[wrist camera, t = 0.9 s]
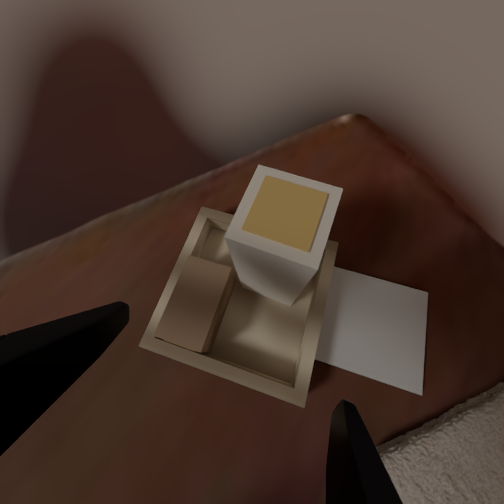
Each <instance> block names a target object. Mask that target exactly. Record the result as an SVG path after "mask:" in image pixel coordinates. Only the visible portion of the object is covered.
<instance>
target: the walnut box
mask: <svg viewBox="0 0 504 504" xmlns="http://www.w3.org/2000/svg"><path fill="white" fill-rule="evenodd" d="M235 282H236V277H235V275H234V272H233V270H232V268H231V267H228V266H225V265H221V264H218V263H215V262H211V261H208V260H205V259H201V258H198V257H194V256H191V255H188V258H187V260H186V262H185V265H184V267H183V269H182V271H181V274H180V276H179V278H178V280H177V283H176V285H175V287H174V290H173V292H172V294H171V296H170V299H169V301H168V303H167V306H166V308H165V310H164V312H163V315H162V317H161V319H160V321H159V324H158V326H157V328H156V331H155V333H154V335H153V336H156V337H158V338H161V339H164V341H167V342H170V343H172V344H175V345H178V346H181V347H184V348H186V349H189V350H192V351H195V352H200V353H202V352H209V351H212V348H213V345H214V342H215V339H216V337H217V334H218V331H219V328H220V325H221V322H222V319H223V317H224V314H225V311H226V308H227V305H228V302H229V299H230V297H231V294H232V291H233V288H234V285H235Z"/></svg>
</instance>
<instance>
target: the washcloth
mask: <svg viewBox="0 0 504 504" xmlns="http://www.w3.org/2000/svg"><path fill="white" fill-rule="evenodd" d="M376 449H377V451H378V453H379V455H380V457H381V459H382V461H383V463H384V466H385V468H386V470H387V472H388V474H389V476H390V478H391V480H392V482H393V484H394V486H395V488H396V490H397V492H398V494H399V496H400V498H401V501H402V503H403V504H504V382H503V383H502V382H500V383H498V384H497V385H496V386H495V387H493V388H492V389H489V390H488V391H486V392H483V393H480V395H476V397H474V398H469V399H467V400H466V402H465V403H462V404H457V405H455V406H454V408H451V409H450V410H449V411H448V412H444V413H443V414H442V415H440V416H439V418H437V419H433V420H431V421H429V422H426V423H424V425H423V426H421V427H419V428H417V429H415V430H413V431H409V432H407V433H406V434H405V435H400V436H398V437H397V438H395V439H393V440H391V441H389V442H386V443H385V444H381V445H379V446H377V447H376Z"/></svg>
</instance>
